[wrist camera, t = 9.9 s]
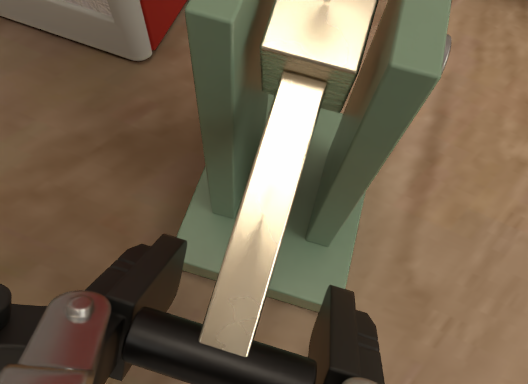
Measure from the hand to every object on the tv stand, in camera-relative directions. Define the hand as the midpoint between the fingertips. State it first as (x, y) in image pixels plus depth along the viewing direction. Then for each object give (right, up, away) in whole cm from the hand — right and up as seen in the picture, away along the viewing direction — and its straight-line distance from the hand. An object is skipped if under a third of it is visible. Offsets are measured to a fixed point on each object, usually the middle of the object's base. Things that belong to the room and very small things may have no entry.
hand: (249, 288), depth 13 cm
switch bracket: (+1, +3, +7) cm, 7 cm away
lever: (+1, +3, -2) cm, 4 cm away
